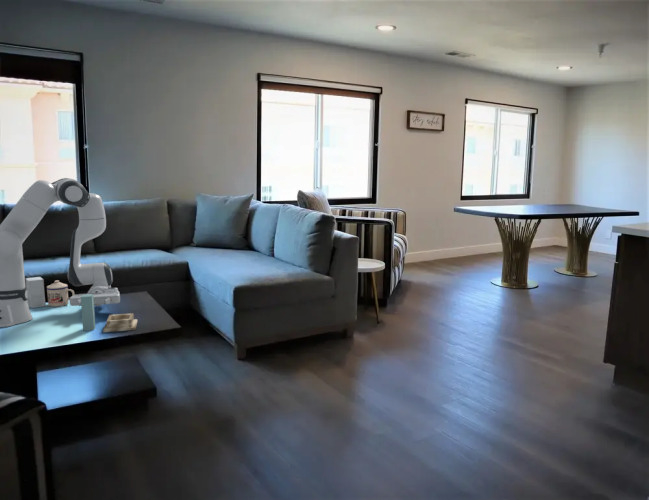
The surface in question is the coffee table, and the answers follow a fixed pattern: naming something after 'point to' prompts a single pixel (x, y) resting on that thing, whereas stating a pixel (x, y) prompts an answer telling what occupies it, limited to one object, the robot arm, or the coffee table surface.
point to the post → (88, 312)
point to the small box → (35, 292)
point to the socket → (120, 323)
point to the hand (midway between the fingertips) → (92, 303)
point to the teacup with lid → (58, 294)
